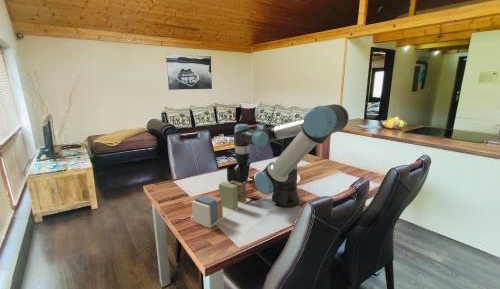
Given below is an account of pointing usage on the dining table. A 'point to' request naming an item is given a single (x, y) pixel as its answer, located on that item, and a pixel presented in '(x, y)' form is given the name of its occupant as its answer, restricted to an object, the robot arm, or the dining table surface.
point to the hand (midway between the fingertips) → (242, 192)
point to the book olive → (228, 195)
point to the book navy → (212, 204)
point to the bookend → (240, 190)
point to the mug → (231, 173)
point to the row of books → (203, 213)
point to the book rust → (218, 206)
